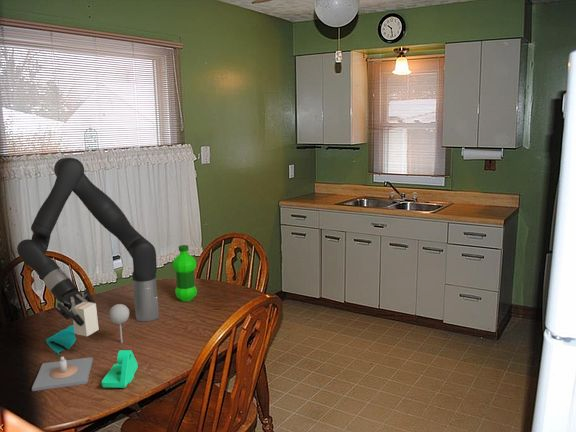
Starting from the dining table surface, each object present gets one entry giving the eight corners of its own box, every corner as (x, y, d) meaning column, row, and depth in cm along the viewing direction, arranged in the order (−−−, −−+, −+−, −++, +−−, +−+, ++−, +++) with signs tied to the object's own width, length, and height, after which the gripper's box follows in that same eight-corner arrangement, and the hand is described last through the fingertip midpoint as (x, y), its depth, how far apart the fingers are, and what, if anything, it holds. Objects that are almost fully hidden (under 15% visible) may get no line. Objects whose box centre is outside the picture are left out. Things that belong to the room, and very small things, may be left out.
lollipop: (135, 339, 191) (132, 302, 187) (123, 348, 184) (120, 309, 181) (119, 337, 193) (116, 300, 190) (107, 345, 186) (104, 307, 183)
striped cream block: (86, 327, 182) (83, 300, 180) (98, 329, 180) (95, 302, 177) (74, 333, 177) (71, 306, 175) (86, 336, 175) (83, 308, 172)
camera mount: (115, 370, 169) (112, 342, 167) (138, 370, 169) (135, 342, 166) (101, 390, 157) (98, 360, 155) (125, 390, 157) (122, 360, 155)
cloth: (61, 326, 205) (60, 321, 204) (95, 325, 205) (94, 320, 204) (28, 357, 179) (27, 352, 179) (67, 357, 179) (66, 351, 179)
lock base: (92, 359, 176) (91, 343, 174) (87, 383, 161) (85, 365, 159) (42, 366, 172) (40, 349, 171) (32, 391, 157) (29, 373, 155)
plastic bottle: (186, 293, 237) (183, 242, 231) (202, 298, 231) (200, 245, 225) (170, 300, 229) (166, 247, 223) (186, 305, 223) (183, 250, 217)
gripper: (47, 285, 171) (78, 323, 169) (80, 271, 183) (109, 307, 181) (38, 297, 174) (68, 335, 172) (71, 283, 187) (99, 318, 185)
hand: (89, 320), depth 177 cm, fingers closed on striped cream block, 5 cm apart
